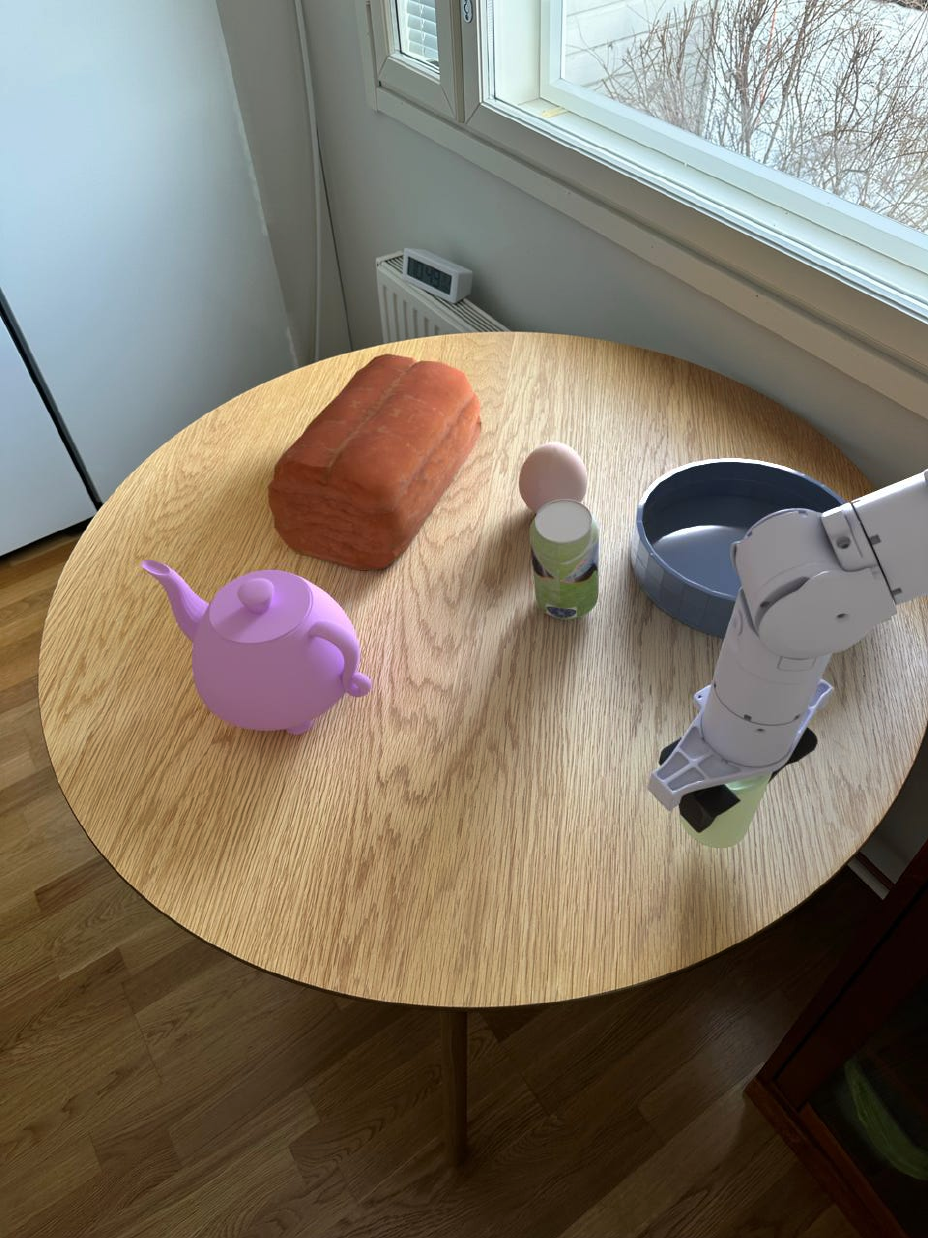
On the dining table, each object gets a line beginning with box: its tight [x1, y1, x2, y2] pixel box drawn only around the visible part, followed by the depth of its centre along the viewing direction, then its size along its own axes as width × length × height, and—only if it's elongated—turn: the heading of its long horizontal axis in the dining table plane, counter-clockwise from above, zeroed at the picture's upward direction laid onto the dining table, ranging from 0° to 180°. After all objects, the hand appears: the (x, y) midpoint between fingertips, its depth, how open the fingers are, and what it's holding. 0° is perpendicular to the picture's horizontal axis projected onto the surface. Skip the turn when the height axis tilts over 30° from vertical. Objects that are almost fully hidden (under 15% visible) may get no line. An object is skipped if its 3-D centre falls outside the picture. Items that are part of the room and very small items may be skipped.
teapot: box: [141, 559, 373, 736], centre depth 70 cm, size 20×14×12 cm
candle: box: [679, 773, 772, 849], centre depth 59 cm, size 5×5×8 cm
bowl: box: [630, 457, 848, 639], centre depth 81 cm, size 21×21×5 cm
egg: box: [518, 441, 588, 515], centre depth 86 cm, size 7×7×8 cm
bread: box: [267, 353, 483, 571], centre depth 89 cm, size 16×27×11 cm, turn 158°
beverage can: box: [528, 499, 600, 621], centre depth 75 cm, size 6×7×12 cm
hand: (719, 802), depth 60 cm, fingers closed on candle, 5 cm apart
